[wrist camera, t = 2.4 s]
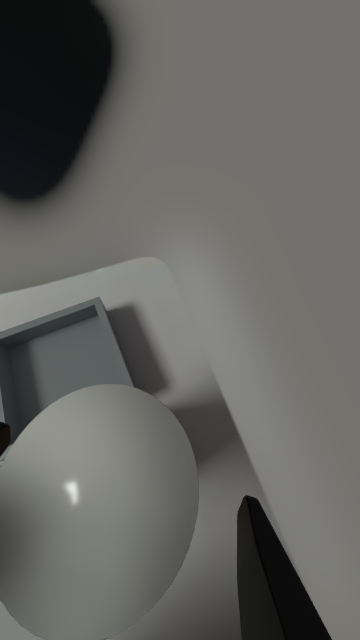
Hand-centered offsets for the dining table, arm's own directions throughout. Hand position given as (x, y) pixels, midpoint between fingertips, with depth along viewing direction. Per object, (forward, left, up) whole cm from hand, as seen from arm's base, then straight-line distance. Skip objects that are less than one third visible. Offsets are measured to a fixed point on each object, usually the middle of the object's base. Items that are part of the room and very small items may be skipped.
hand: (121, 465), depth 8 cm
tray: (-4, +8, -9) cm, 13 cm away
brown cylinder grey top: (0, 0, -9) cm, 9 cm away
